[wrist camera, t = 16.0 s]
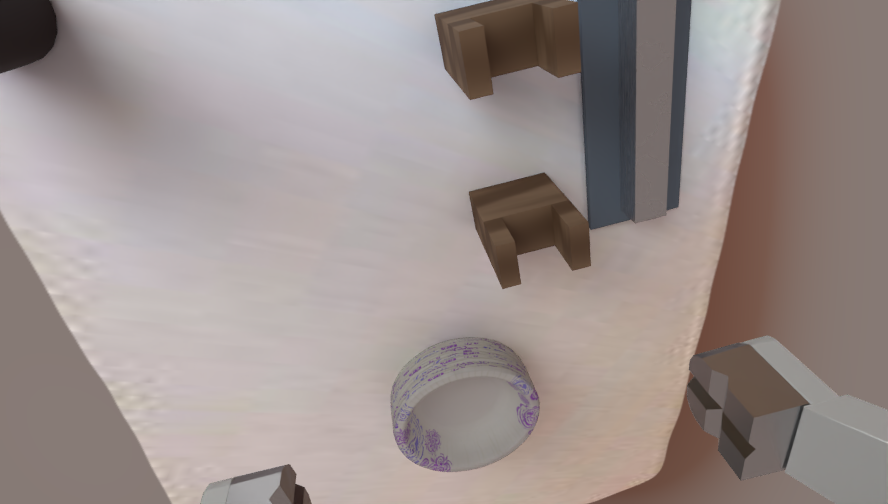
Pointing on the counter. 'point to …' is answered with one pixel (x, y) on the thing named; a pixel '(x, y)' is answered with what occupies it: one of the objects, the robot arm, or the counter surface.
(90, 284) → the counter surface
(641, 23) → the rail
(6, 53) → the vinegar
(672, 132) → the mat
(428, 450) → the paper bowls
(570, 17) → the cradles
